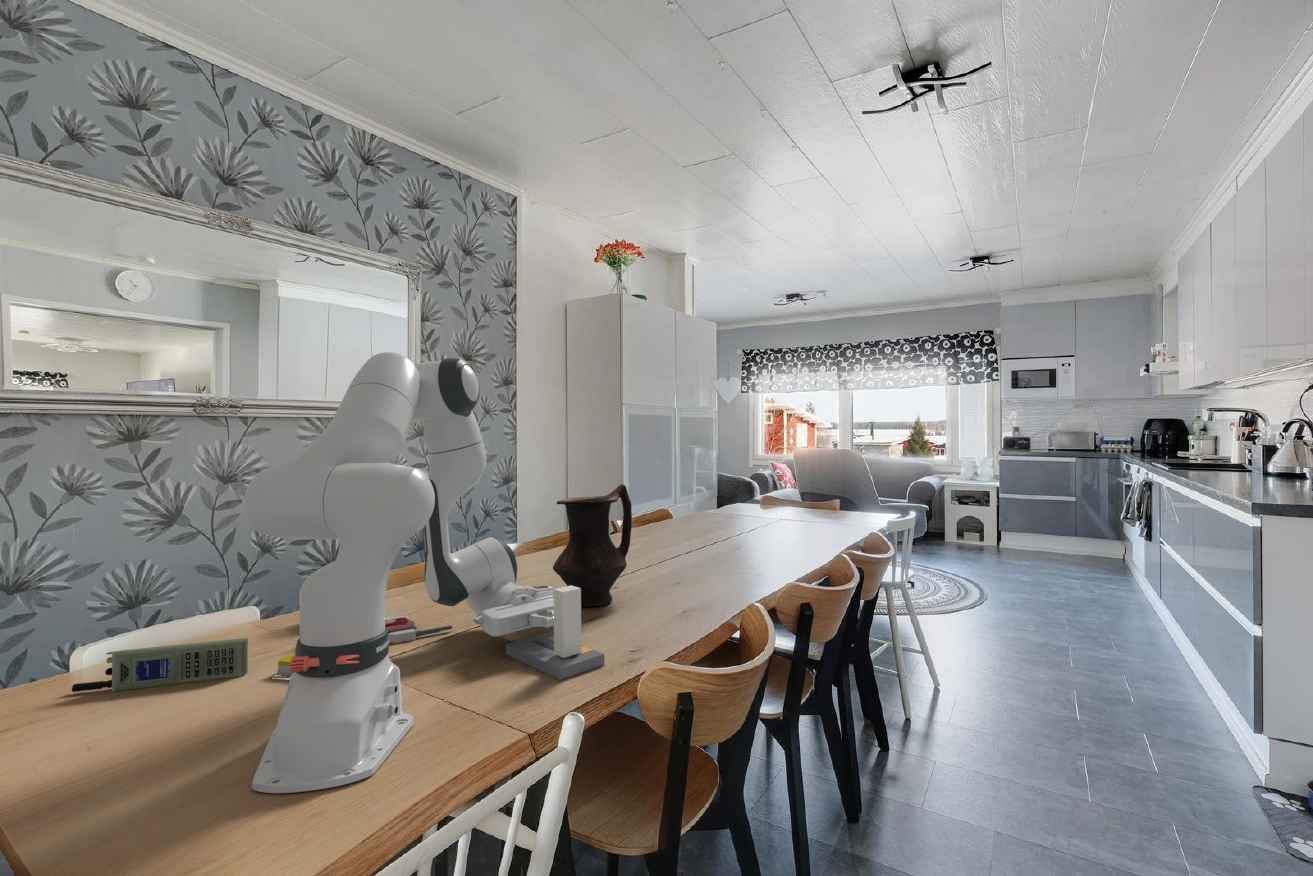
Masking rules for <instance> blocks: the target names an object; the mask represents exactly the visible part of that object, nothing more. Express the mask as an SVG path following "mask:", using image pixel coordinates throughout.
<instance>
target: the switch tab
mask: <svg viewBox="0 0 1313 876" xmlns="http://www.w3.org/2000/svg"><path fill="white" fill-rule="evenodd" d="M553 590H554V626H553V634H554V654H555V655H558V656H560V657H562V658H566V657H569V656H572V655H575V654H578V653H581V645H582V606H581V588H578V587H575V586H567V585H566V586H563V587H558V588H553Z"/></svg>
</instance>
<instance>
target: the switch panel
mask: <svg viewBox="0 0 1313 876" xmlns="http://www.w3.org/2000/svg"><path fill="white" fill-rule="evenodd" d="M505 655H507V656H509V657H511V658H513V659H515V660H517V661H519V662H521V663H524V664H526V665H527V666H530V667H532V668H533V669H535V670H538V671H540V672H542V673H545V674H546V675H548V676H551V677H552V678H555V679H557V680H558V681H562V680H565V679H567V678H570V677H573V676H576V675H579V674H582V673H585V672H587V671H591V670H593V669H596V668H599V667H602V666H604V665H605V653H603V652H600V651H597V650H595V649H592V648H590V647H587V646H585V645H583V644H581V653H578V654H575V655H572V656H569V657H566V658H562V657H560V656H558V655H555V654H554V633H551V632H545V633H541V634H537V635H534V636H531V637H527V638H523V639H520V640H516V641H512V642H509V643H506V644H505Z"/></svg>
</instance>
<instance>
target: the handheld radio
mask: <svg viewBox="0 0 1313 876" xmlns="http://www.w3.org/2000/svg"><path fill="white" fill-rule="evenodd" d="M248 643H249V639H248V637H242V638H240V637H239V638H233V639H232V638H231V639H221V640H212V641H210V640H209V641H201V642H191V643H183V644H171V645H162V646H161V645H160V646H151V647H143V648H131V649H123V650H113V651H112V650H111V651H107V652H106V653H105V655H111V656H109V657H107V658H106V663H107V664H111V667H108V668H106V669H105V671H104V672H105V675H106V676H111V679H108V680H106V681H104V680H102V681H101V680H99V681H92V682H91V681H90V682H79V683H73V685H72V686H71V692H72V693H76V692H86V691H93V690H102V689H103V688H104V689H105V688H108V689H110V688H111V692H113V693H114V692H120V691H121V692H122V691H123V692H124V691H128V690H129V691H130V690H131V691H132V690H138V689H139V688H140V689H146V688H147V687H148V688H156V687H164V686H172V684H174V685H180V684H179V683H182V684H186V683H185V682H191V683H199V682H206V681H215V680H222V679H223V678H225V679H233V678H240V676H242V677H245V676H246V675H247V674H248V672H249V671H248V665H249V664H248V661H249V660H248V657H249V656H248V653H249V651H248V647H249V646H248ZM246 673H247V674H246ZM245 674H246V675H245ZM244 675H245V676H244ZM148 688H147V689H148Z"/></svg>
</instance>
